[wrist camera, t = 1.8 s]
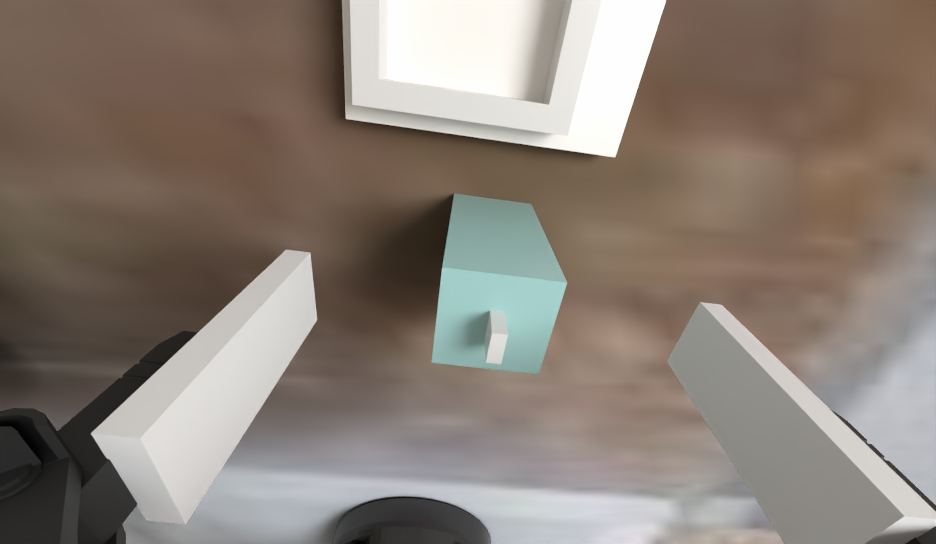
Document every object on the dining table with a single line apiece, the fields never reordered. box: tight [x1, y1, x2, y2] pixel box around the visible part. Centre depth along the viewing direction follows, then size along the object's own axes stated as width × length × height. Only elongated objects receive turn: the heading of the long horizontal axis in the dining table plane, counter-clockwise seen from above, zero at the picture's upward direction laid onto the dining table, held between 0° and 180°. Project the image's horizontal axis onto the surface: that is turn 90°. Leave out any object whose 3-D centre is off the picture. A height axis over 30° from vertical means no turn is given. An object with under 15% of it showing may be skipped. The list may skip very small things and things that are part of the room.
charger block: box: [432, 194, 567, 374], centre depth 15 cm, size 4×4×9 cm
